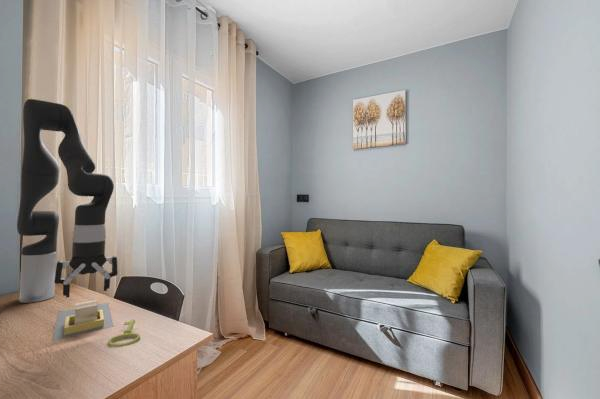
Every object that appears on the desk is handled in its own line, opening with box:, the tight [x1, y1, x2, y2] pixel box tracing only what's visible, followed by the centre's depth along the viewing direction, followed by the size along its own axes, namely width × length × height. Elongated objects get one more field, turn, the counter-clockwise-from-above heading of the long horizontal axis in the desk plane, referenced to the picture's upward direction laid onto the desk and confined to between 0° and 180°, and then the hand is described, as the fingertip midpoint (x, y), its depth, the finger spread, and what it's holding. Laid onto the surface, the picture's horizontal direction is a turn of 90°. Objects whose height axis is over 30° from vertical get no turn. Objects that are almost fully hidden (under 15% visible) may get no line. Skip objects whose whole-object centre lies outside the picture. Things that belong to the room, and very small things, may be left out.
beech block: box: [74, 299, 98, 325], centre depth 75 cm, size 5×5×6 cm
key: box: [107, 319, 141, 347], centre depth 71 cm, size 7×12×2 cm, turn 41°
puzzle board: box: [51, 302, 114, 342], centre depth 78 cm, size 22×13×3 cm, turn 41°
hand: (87, 293), depth 75 cm, fingers open, 8 cm apart
